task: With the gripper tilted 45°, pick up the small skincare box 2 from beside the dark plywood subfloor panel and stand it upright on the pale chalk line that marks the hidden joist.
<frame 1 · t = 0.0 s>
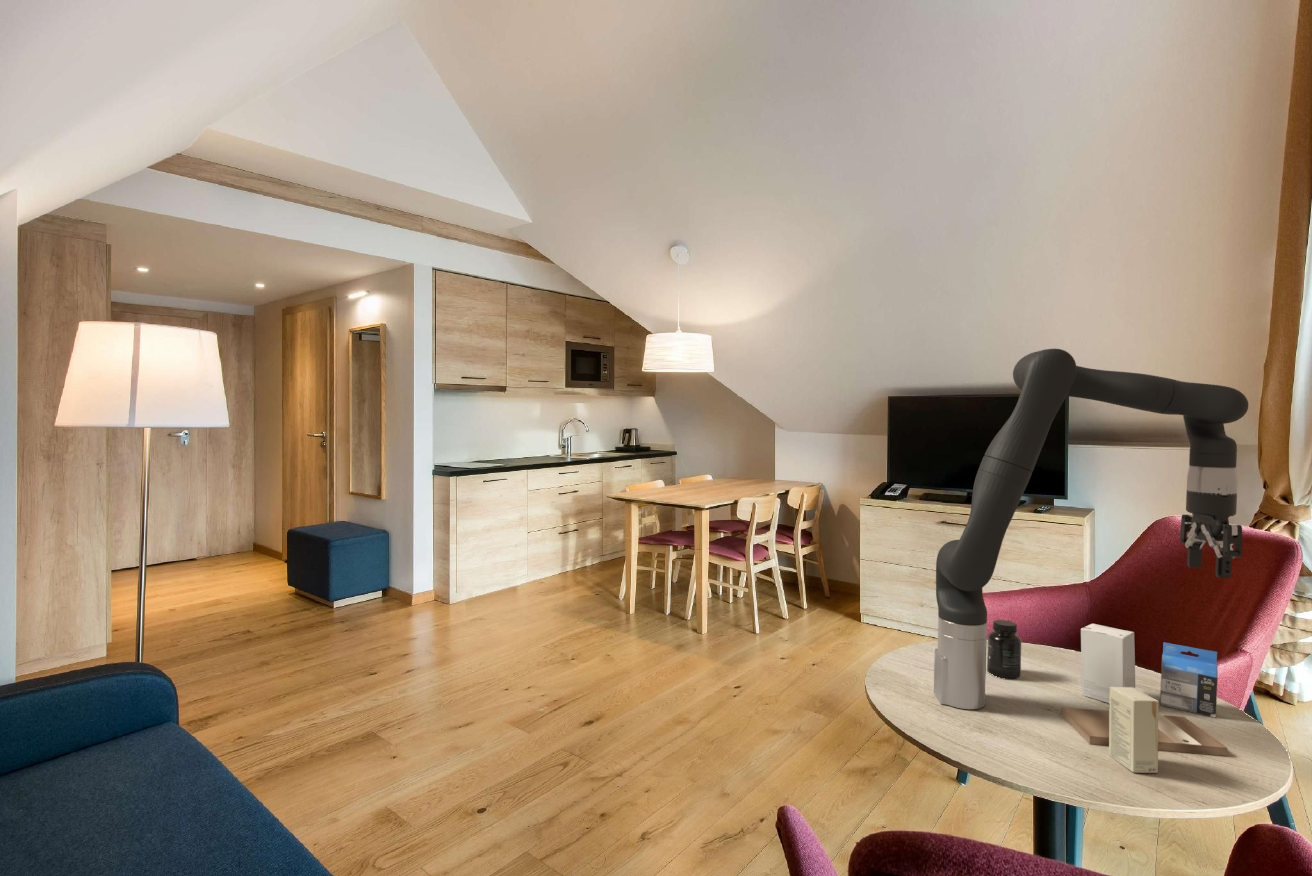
hand: (1208, 572, 127), 29 cm above the table, tool pointing down, fingers open, 8 cm apart
skincare box 2: (1132, 764, 111), on the table
subfloor panel: (1138, 733, 122), on the table
skincare box: (1106, 699, 137), on the table
supplement bottle: (1003, 675, 150), on the table
label tape cartridge: (1187, 709, 133), on the table
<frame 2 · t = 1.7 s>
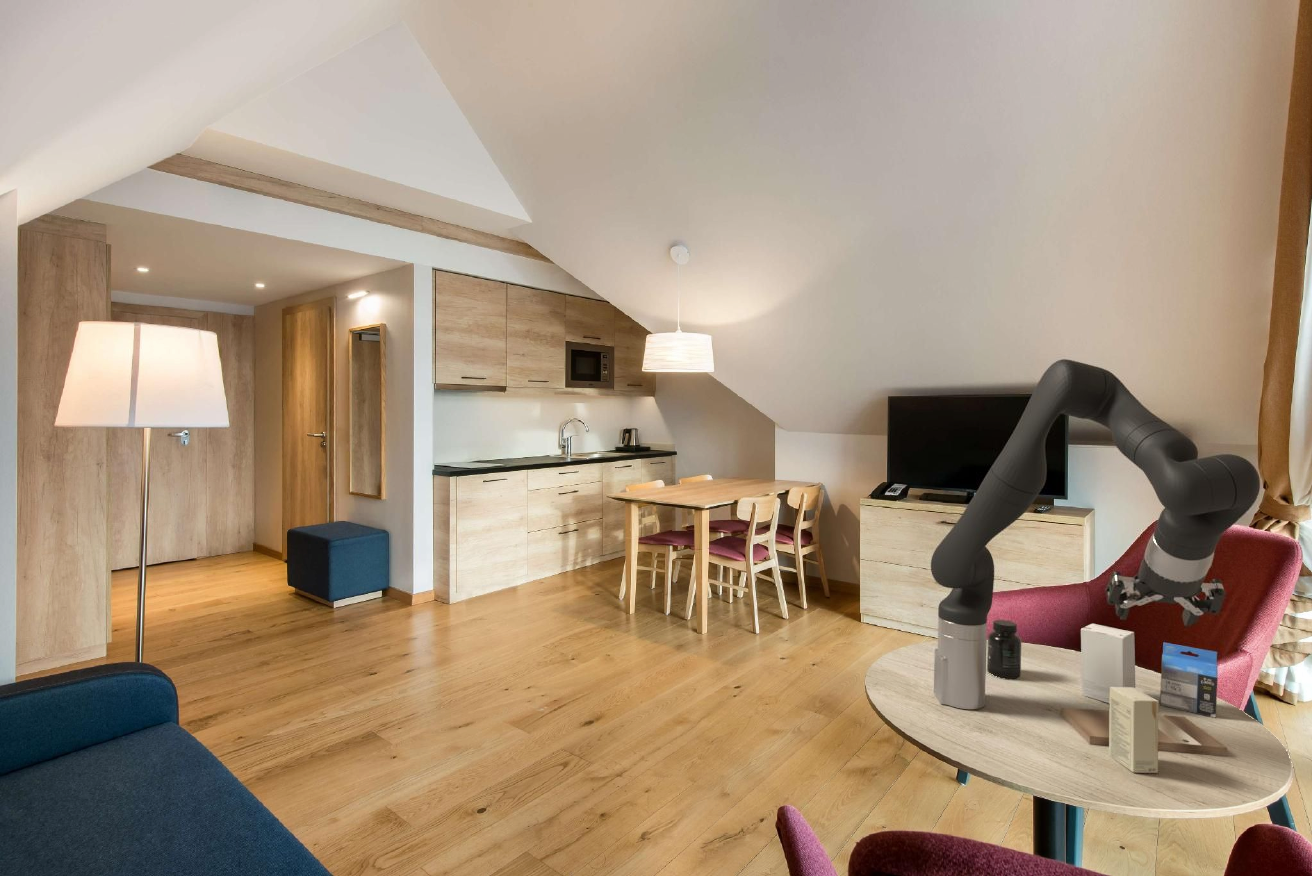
hand: (1153, 618, 106), 27 cm above the table, tool tilted 45°, fingers open, 8 cm apart
nothing on the table moved.
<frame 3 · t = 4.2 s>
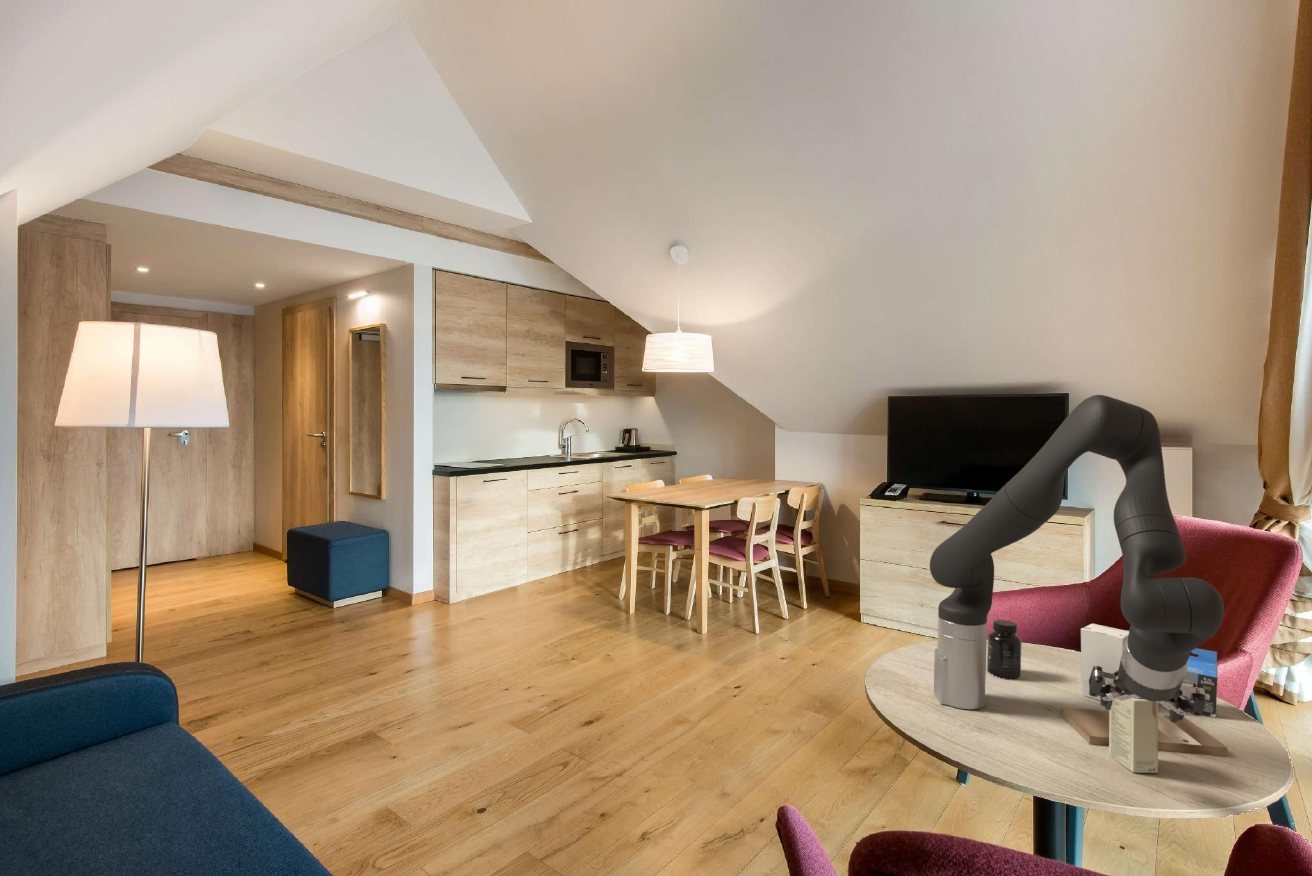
hand: (1139, 710, 106), 12 cm above the table, tool tilted 45°, fingers open, 8 cm apart
nothing on the table moved.
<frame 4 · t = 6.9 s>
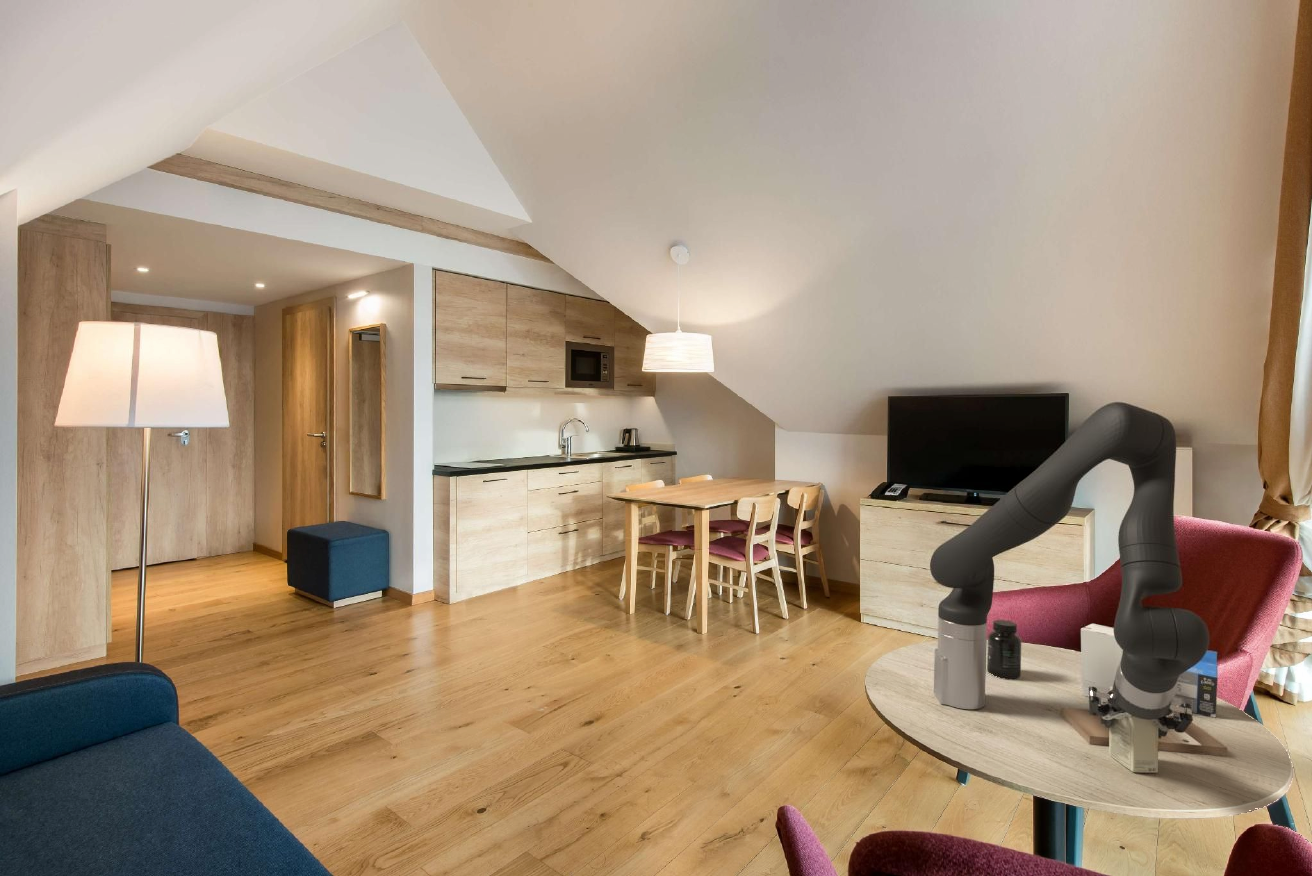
hand: (1131, 727, 113), 6 cm above the table, tool tilted 45°, fingers closed on skincare box 2, 6 cm apart
skincare box 2: (1132, 764, 111), on the table, touching gripper
everything else where it was.
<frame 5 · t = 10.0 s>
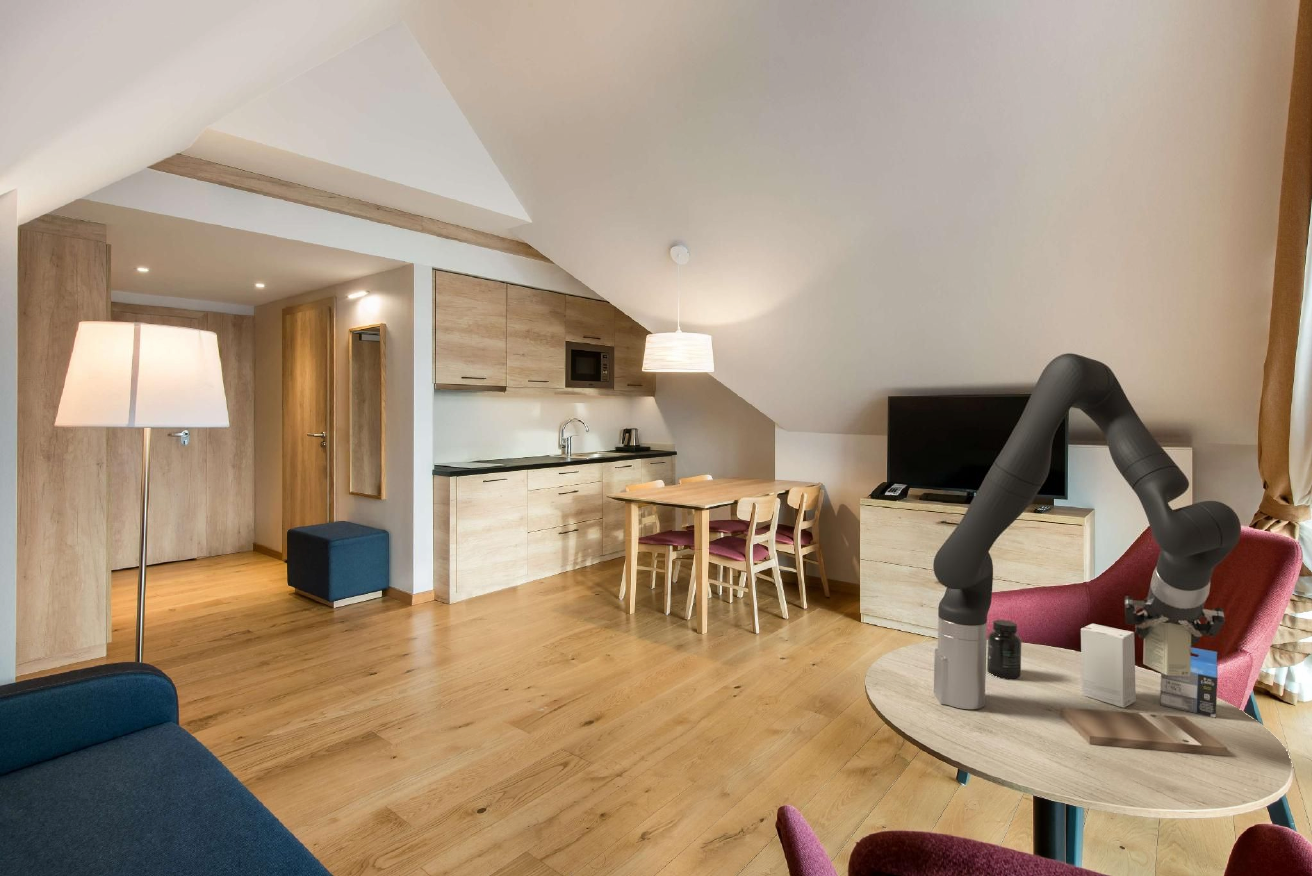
hand: (1165, 637, 120), 19 cm above the table, tool tilted 45°, fingers closed on skincare box 2, 6 cm apart
skincare box 2: (1165, 671, 118), point 13 cm above the table, touching gripper
everything else where it was.
when the fingers open (8 cm above the table, at t = 13.5 s): skincare box 2 drops 1 cm, resting on subfloor panel.
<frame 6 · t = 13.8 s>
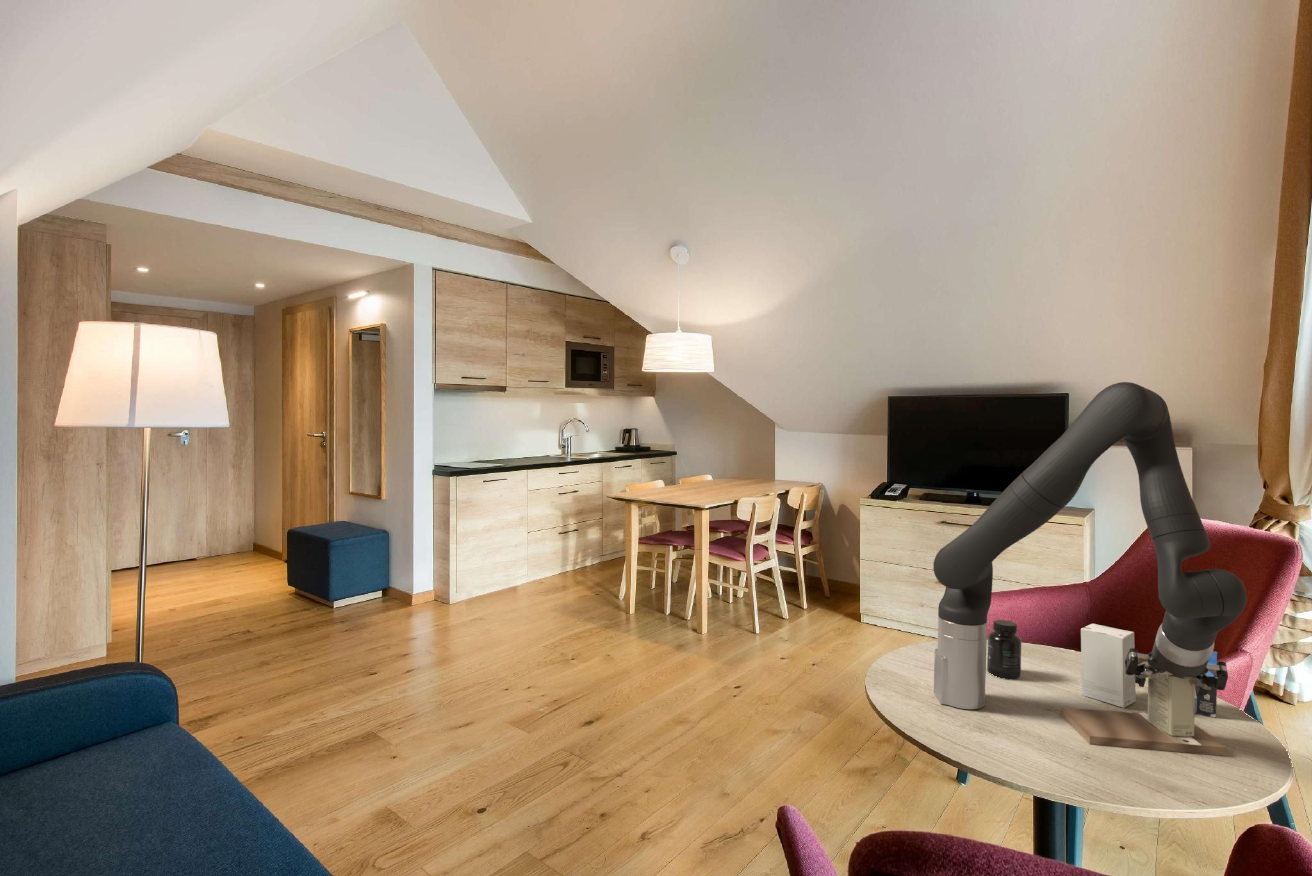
hand: (1168, 687, 122), 9 cm above the table, tool tilted 45°, fingers open, 8 cm apart
skincare box 2: (1169, 729, 121), point 1 cm above the table, touching subfloor panel
everything else where it was.
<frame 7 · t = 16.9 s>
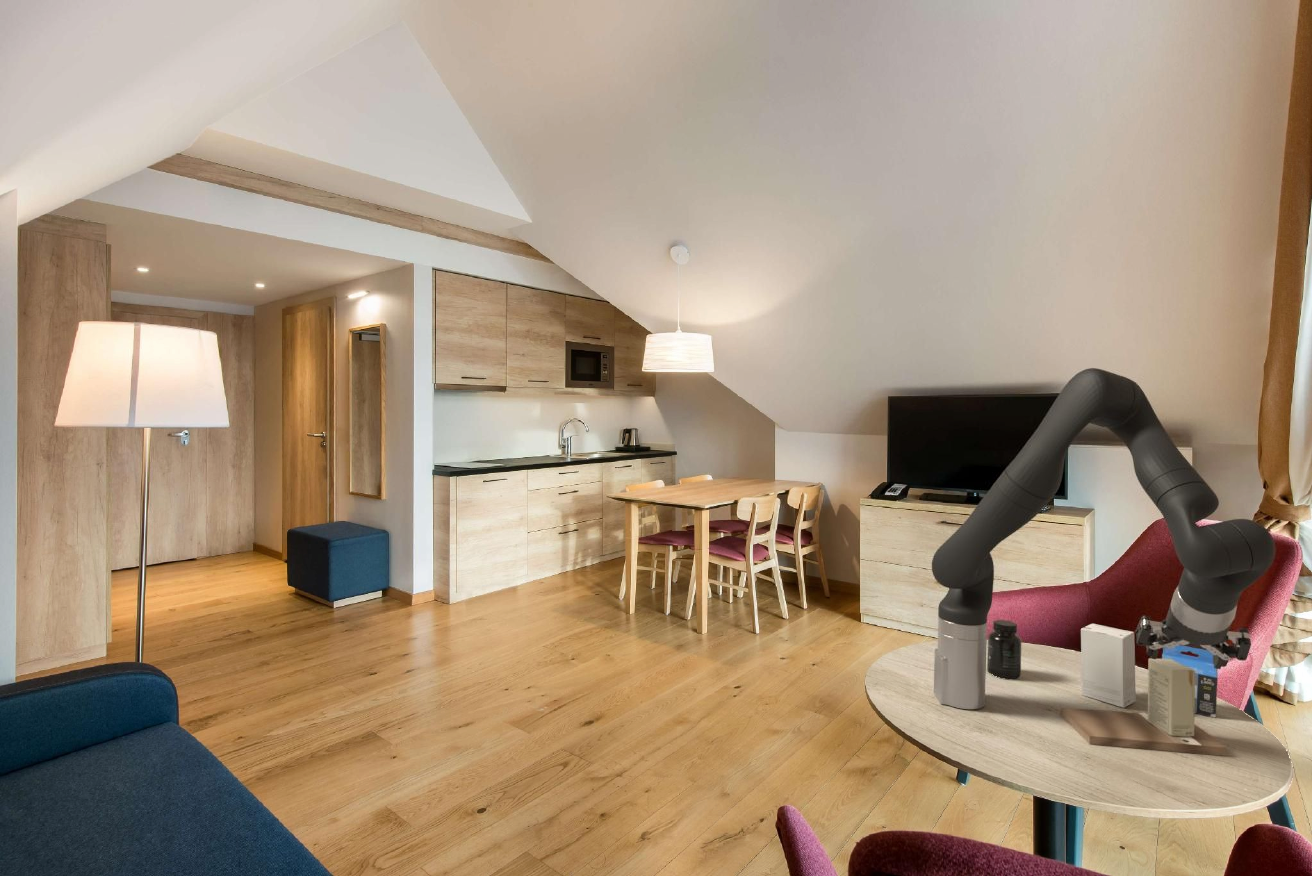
hand: (1183, 658, 111), 18 cm above the table, tool tilted 45°, fingers open, 8 cm apart
nothing on the table moved.
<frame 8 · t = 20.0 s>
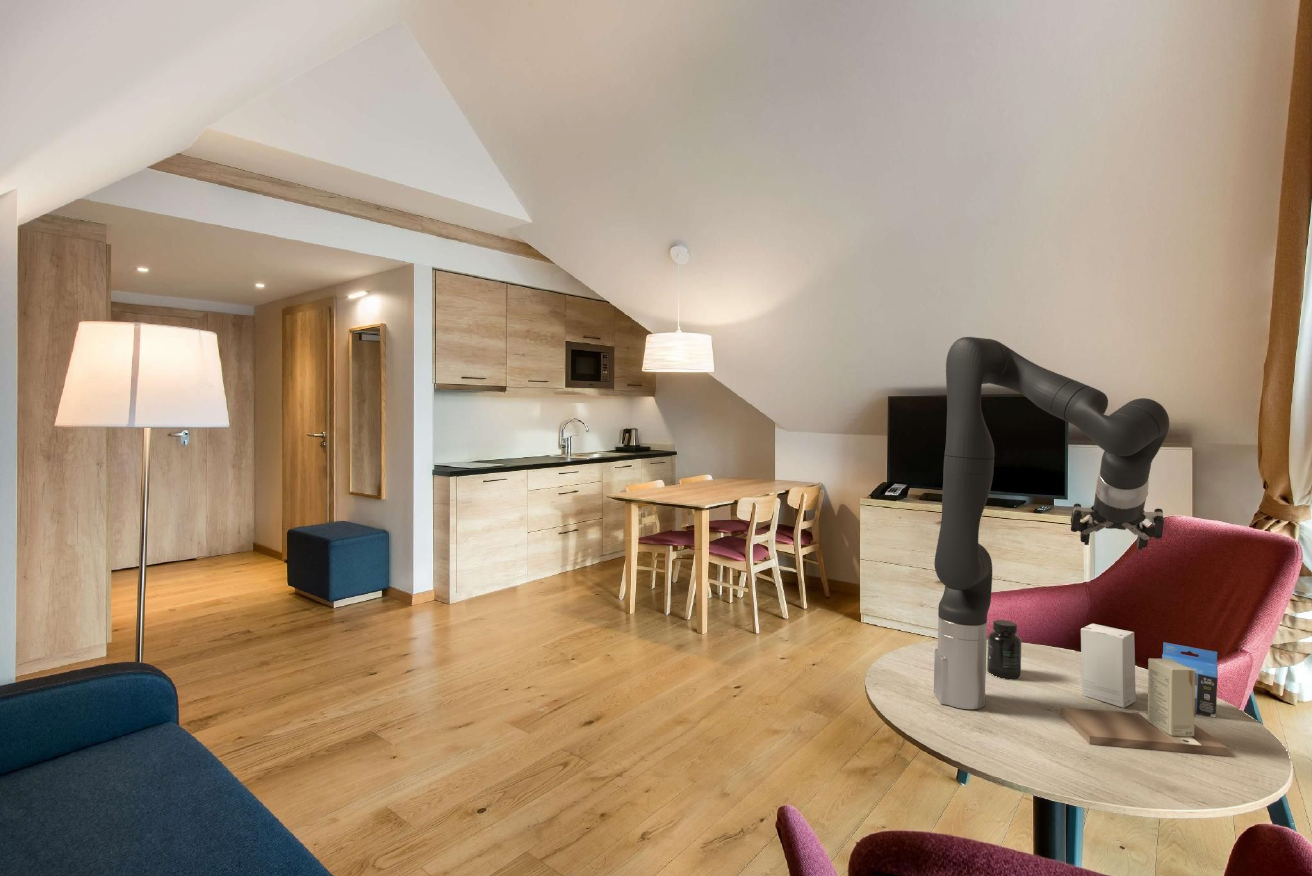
hand: (1112, 543, 128), 35 cm above the table, tool tilted 45°, fingers open, 8 cm apart
nothing on the table moved.
at the end: skincare box 2 inside the target area (0.3 cm from its centre), point 1.4 cm above the table; skincare box 2 tilted 0°; the gripper is holding nothing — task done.
